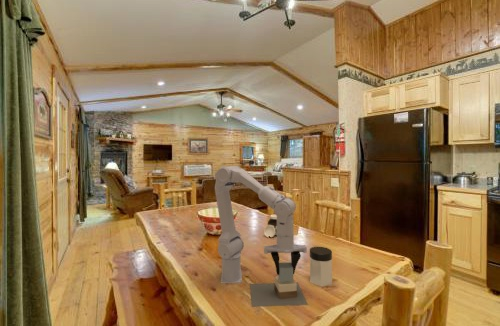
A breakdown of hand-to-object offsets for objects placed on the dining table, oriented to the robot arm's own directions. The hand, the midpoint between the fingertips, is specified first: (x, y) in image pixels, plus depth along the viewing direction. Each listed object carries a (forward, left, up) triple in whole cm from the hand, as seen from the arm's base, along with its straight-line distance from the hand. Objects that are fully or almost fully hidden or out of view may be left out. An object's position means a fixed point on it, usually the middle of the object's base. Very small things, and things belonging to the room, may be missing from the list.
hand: (285, 273), depth 85 cm
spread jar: (-64, +5, -8) cm, 65 cm away
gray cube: (0, 0, -2) cm, 2 cm away
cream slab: (0, 0, -5) cm, 5 cm away
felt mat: (0, -3, -7) cm, 8 cm away
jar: (-8, +15, -8) cm, 19 cm away
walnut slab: (0, 0, -7) cm, 7 cm away
